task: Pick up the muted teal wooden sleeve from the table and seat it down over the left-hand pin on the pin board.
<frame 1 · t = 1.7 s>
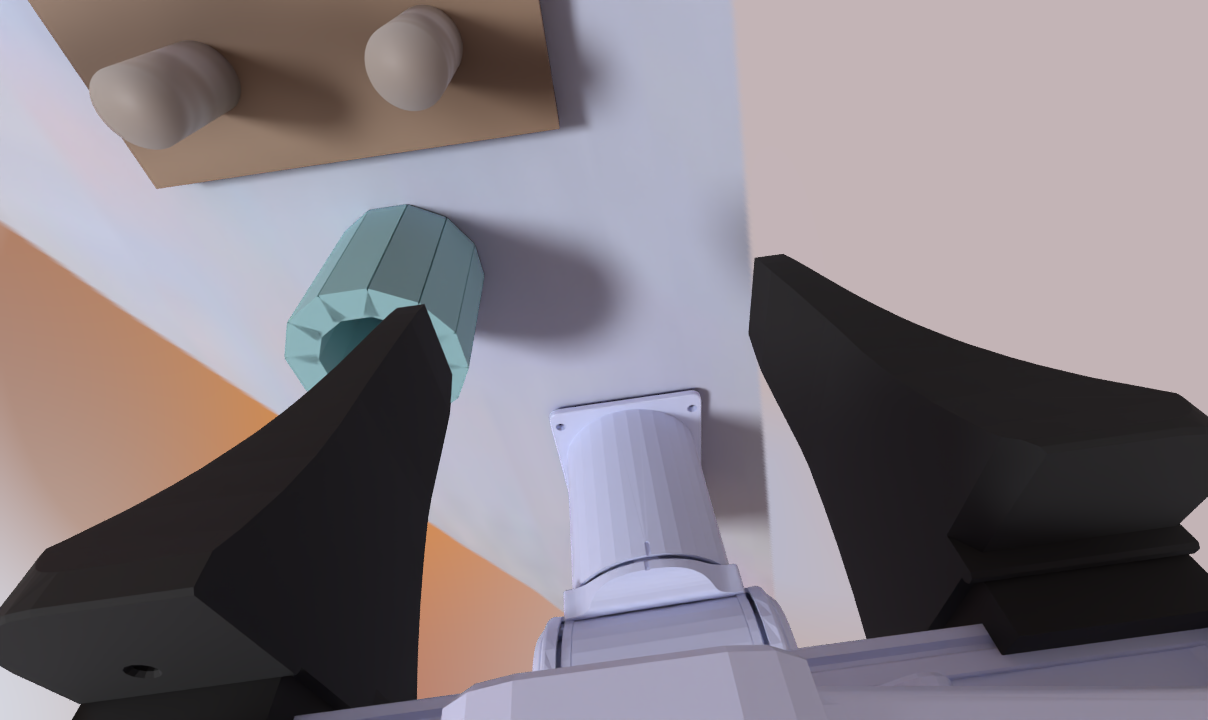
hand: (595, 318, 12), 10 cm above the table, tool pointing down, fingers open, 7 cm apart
pin board: (326, 54, 17), on the table
sleeve: (413, 270, 22), on the table
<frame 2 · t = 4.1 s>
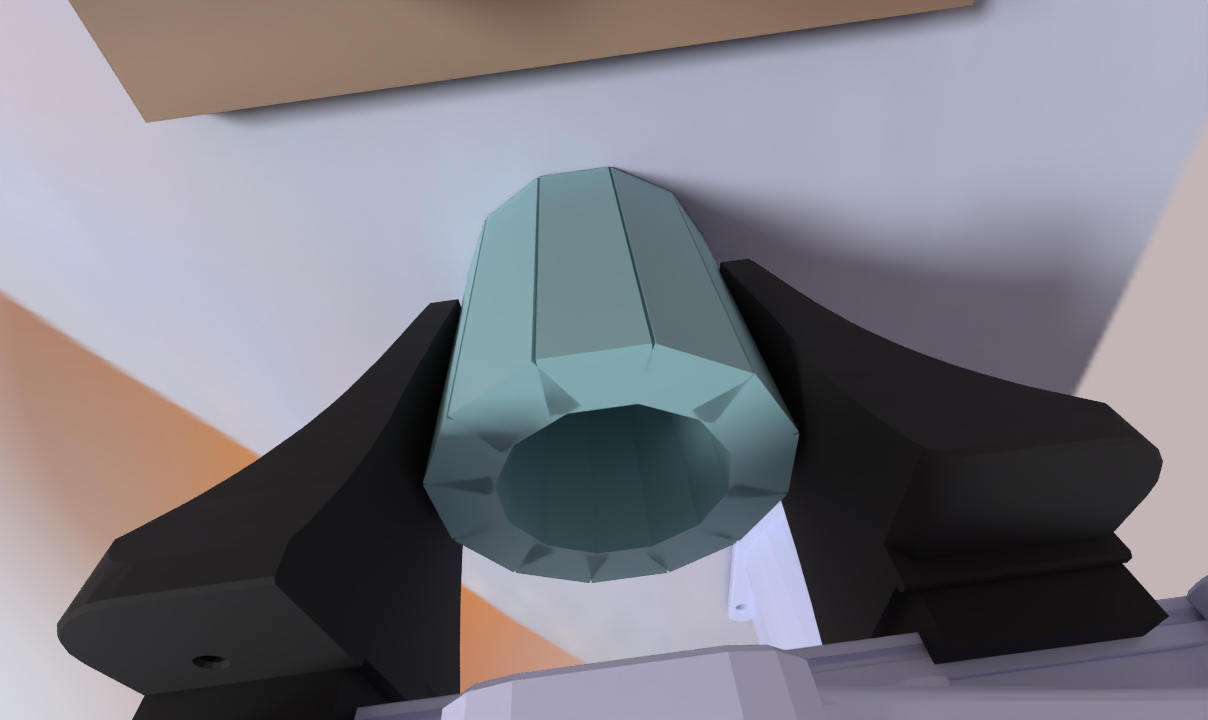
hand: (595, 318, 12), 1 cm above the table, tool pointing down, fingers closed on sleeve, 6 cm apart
sleeve: (590, 285, 13), on the table, touching gripper
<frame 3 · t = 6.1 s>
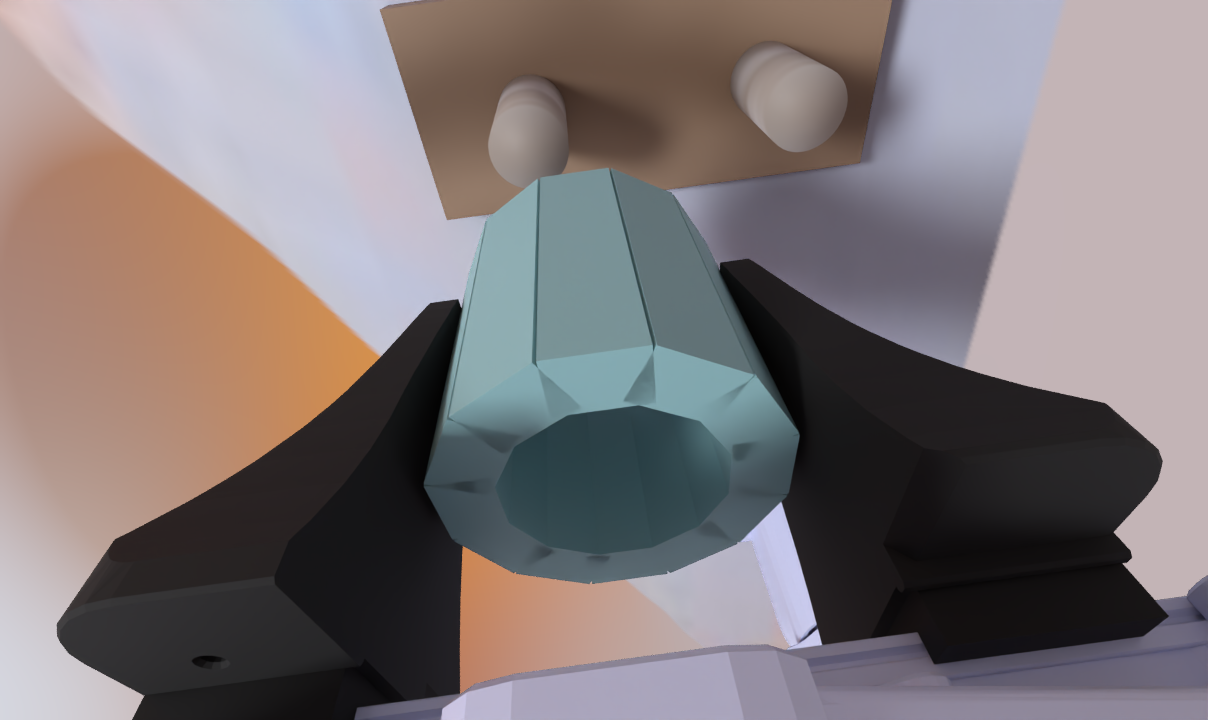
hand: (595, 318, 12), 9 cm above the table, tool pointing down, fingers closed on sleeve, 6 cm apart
pin board: (643, 87, 17), on the table
sleeve: (591, 286, 13), point 7 cm above the table, touching gripper
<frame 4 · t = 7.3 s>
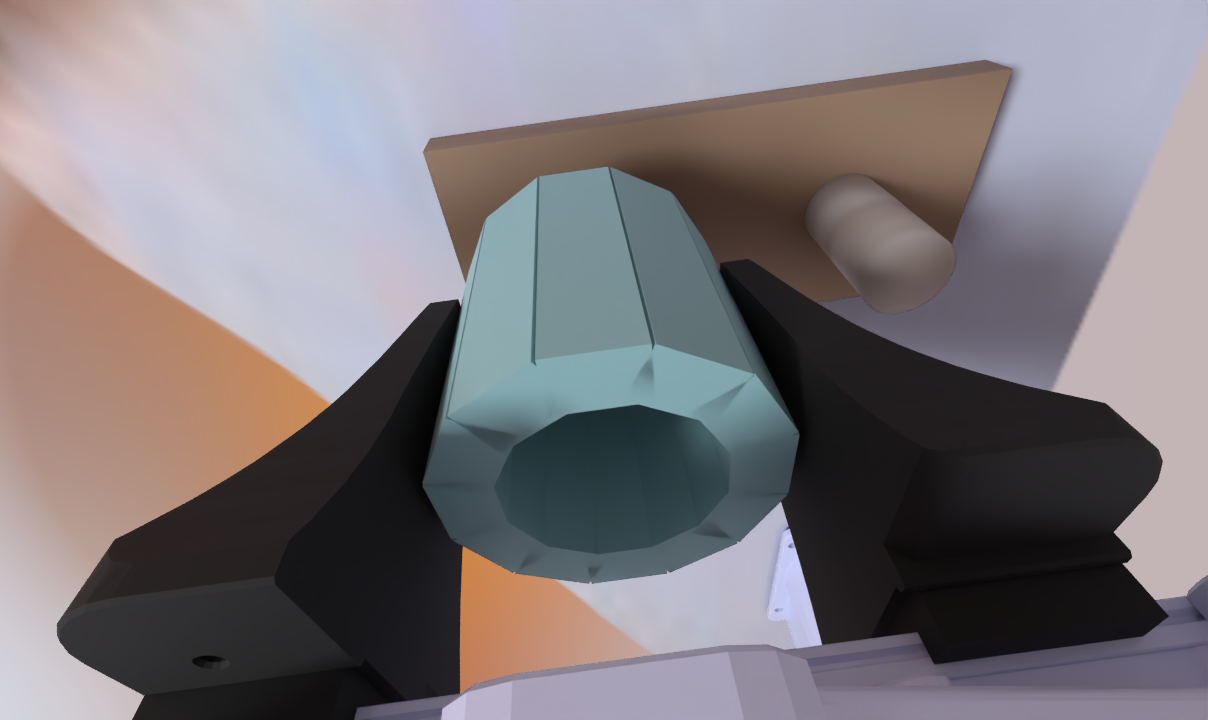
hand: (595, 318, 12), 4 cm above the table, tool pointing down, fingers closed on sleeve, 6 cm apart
pin board: (705, 211, 15), on the table
sleeve: (590, 285, 13), point 3 cm above the table, touching gripper
when the fingers open (4 cm above the table, at t = 8.3 s): sleeve drops 2 cm, resting on pin board.
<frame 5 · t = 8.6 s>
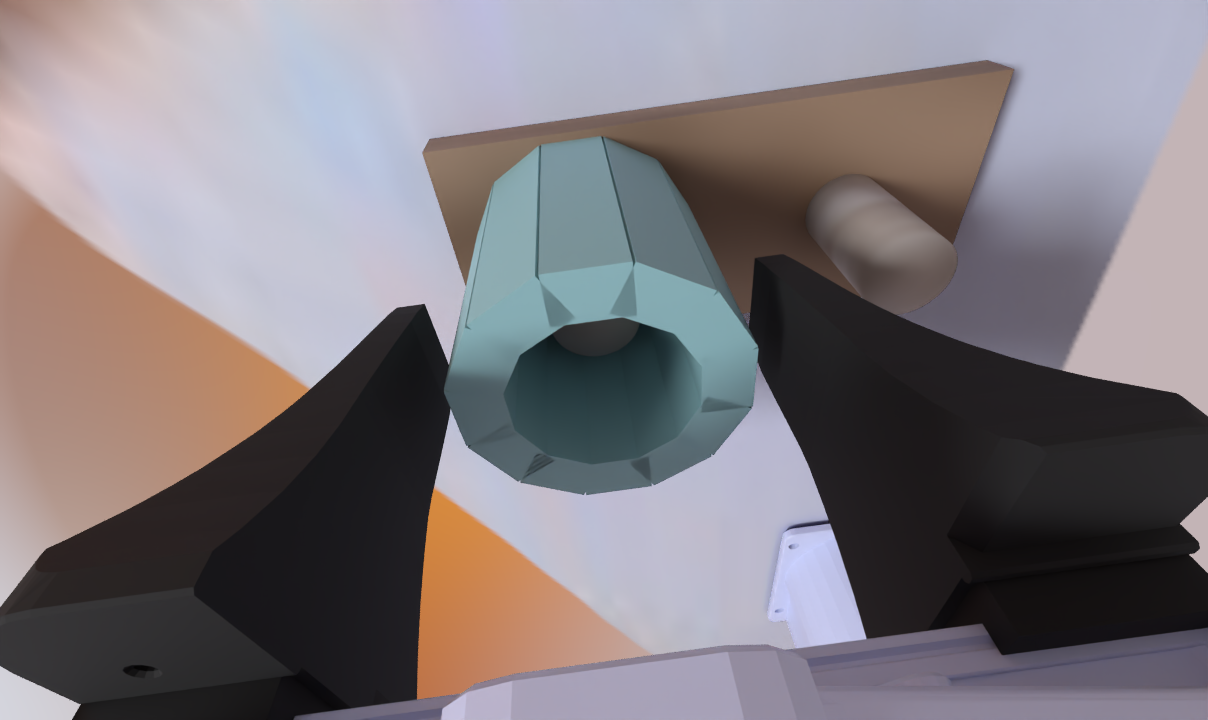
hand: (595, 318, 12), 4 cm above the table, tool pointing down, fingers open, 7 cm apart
pin board: (705, 212, 15), on the table
sleeve: (586, 245, 14), point 1 cm above the table, touching pin board
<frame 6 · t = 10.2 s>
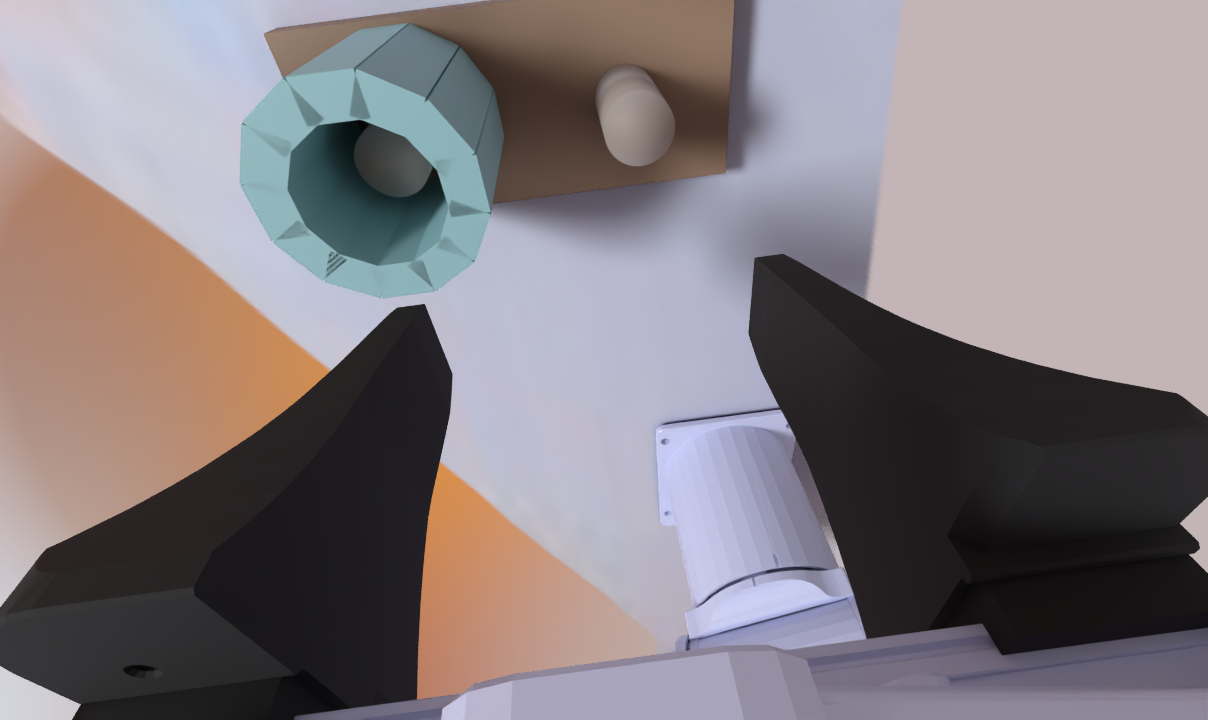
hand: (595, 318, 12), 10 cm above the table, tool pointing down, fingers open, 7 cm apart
pin board: (521, 102, 18), on the table
sleeve: (415, 124, 18), point 1 cm above the table, touching pin board
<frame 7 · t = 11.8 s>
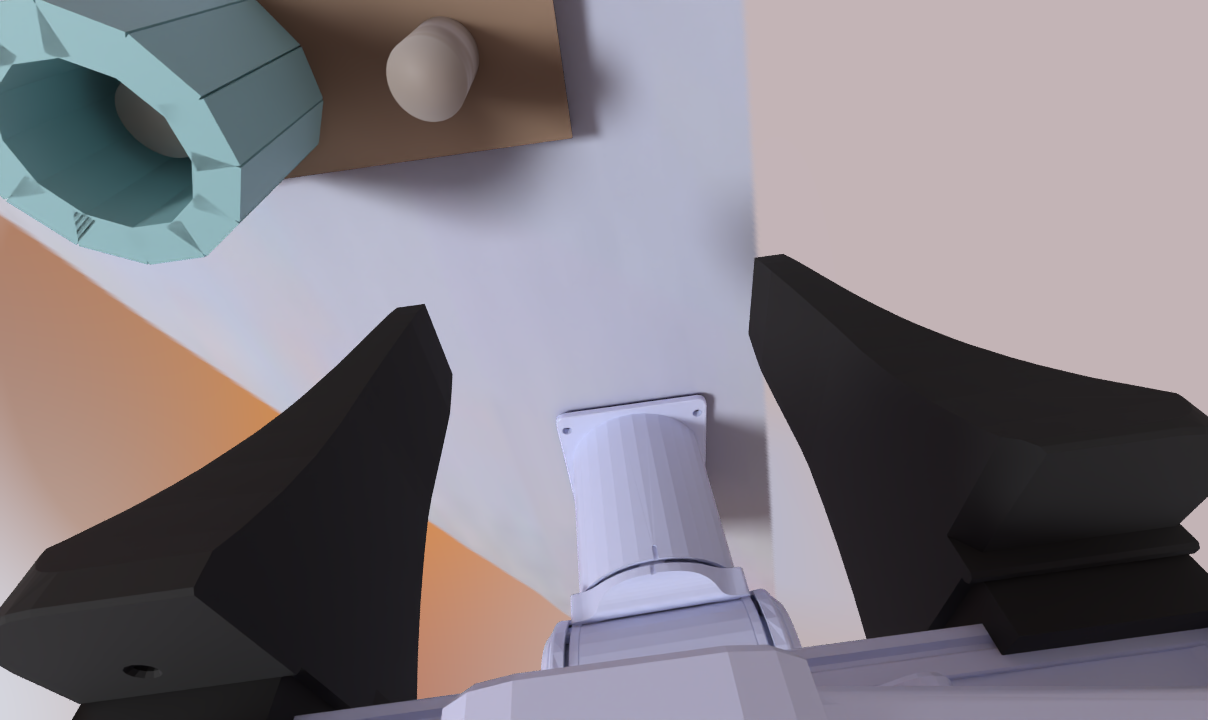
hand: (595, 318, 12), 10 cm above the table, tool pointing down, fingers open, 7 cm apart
pin board: (344, 63, 17), on the table
sleeve: (223, 85, 17), point 1 cm above the table, touching pin board
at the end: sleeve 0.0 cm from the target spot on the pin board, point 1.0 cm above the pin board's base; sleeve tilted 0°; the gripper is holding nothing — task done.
